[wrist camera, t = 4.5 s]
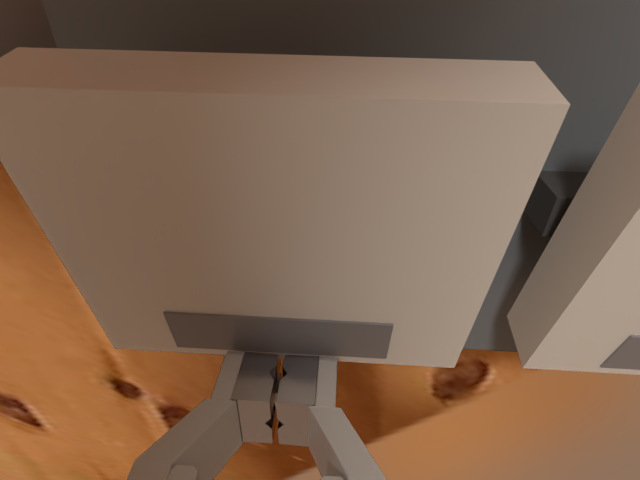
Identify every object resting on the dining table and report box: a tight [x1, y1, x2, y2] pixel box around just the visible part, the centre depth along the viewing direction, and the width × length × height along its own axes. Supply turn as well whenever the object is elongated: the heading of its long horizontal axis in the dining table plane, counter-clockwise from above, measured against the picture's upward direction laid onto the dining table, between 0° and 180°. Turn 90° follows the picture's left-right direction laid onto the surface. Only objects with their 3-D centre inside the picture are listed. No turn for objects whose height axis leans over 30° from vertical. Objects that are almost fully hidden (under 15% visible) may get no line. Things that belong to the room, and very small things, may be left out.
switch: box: [0, 47, 570, 368], centre depth 10 cm, size 8×10×2 cm
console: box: [42, 0, 640, 352], centre depth 14 cm, size 14×24×8 cm, turn 89°
